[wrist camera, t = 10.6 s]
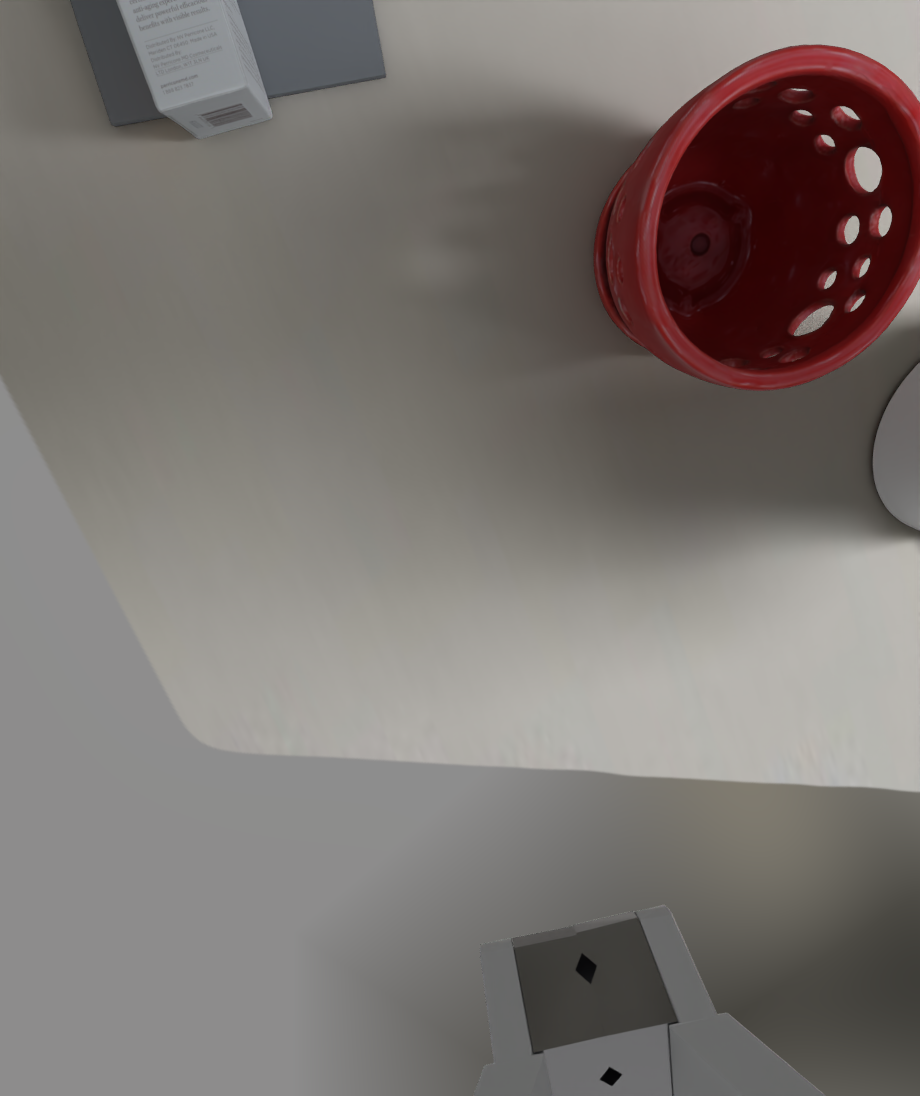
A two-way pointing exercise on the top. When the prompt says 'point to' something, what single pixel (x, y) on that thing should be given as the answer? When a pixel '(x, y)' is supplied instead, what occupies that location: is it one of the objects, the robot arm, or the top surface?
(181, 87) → the skincare box
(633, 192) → the plant pot
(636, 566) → the top surface
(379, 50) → the slate mat
